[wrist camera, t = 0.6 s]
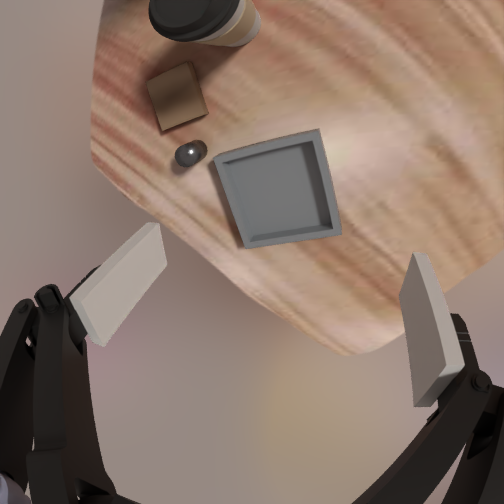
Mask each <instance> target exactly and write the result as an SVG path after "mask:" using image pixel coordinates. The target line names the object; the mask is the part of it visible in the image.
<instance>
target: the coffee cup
mask: <svg viewBox="0 0 504 504" xmlns="http://www.w3.org/2000/svg"><path fill="white" fill-rule="evenodd" d="M149 19H150V22H151V24H152V26H153V28H154V29H155V30H156V31H157V32H158V33H159V34H160V35H162V36H164V37H166V38H169V39H171V40H175V41H180V42H193V43H201V44H209V45H215V46H229V47H237V46H241V45H244V44H246V43H248V42H250V41H251V40H252V39H253V38H254V37H255V36H256V35H257V33H258V31H259V29H260V25H261V19H260V15H259V13H258V12H257V10H256V9H255V6H254V4H253V2H252V1H251V0H150V2H149Z"/></svg>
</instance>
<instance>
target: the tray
mask: <svg viewBox="0 0 504 504" xmlns="http://www.w3.org/2000/svg"><path fill="white" fill-rule="evenodd" d="M213 160H214V162H215V165H216V168H217V171H218V174H219V176H220V179H221V182H222V185H223V188H224V191H225V193H226V196H227V199H228V202H229V205H230V207H231V210H232V213H233V216H234V218H235V221H236V224H237V227H238V230H239V232H240V235H241V238H242V241H243V244H244V246H245V249H249V248H256V247H262V246H269V245H276V244H283V243H289V242H296V241H303V240H310V239H316V238H323V237H330V236H337V235H342V226H341V221H340V216H339V211H338V206H337V201H336V196H335V192H334V187H333V182H332V178H331V174H330V169H329V165H328V161H327V157H326V153H325V149H324V145H323V141H322V137H321V133H320V130H319V129H315V130H310V131H305V132H301V133H296V134H292V135H288V136H283V137H279V138H275V139H271V140H267V141H263V142H259V143H256V144H252V145H248V146H244V147H241V148H237V149H234V150H230V151H227V152H224V153H220V154H218V155H217V156H215V157H213Z"/></svg>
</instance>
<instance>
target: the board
mask: <svg viewBox="0 0 504 504" xmlns="http://www.w3.org/2000/svg"><path fill="white" fill-rule="evenodd" d="M146 85H147V88H148V91H149V94H150V97H151V100H152V103H153V106H154V109H155V112H156V115H157V118H158V120H159V123H160V126H161V129H162V131H164V130H167V129H169V128H172V127H174V126H177V125H179V124H182V123H184V122H187V121H189V120H192V119H195V118H197V117H200V116H203V115H206V114H208V113H209V112H208V109H207V106H206V103H205V100H204V97H203V94H202V91H201V88H200V85H199V82H198V80H197V77H196V74H195V71H194V68H193V65H192V63H191V62H185V63H183V64H181V65H179V66H177V67H175V68H173V69H170V70H168V71H166V72H164V73H162V74H160V75H158V76H156V77H154V78H153V79H151V80H149V81H147V82H146Z"/></svg>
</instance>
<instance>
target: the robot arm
mask: <svg viewBox="0 0 504 504" xmlns="http://www.w3.org/2000/svg"><path fill="white" fill-rule="evenodd" d="M166 266H167V261H166V256H165V251H164V247H163V242H162V237H161V232H160V227H159V223H150V222H147V223H146V224H145V225H144V226H143V227H142V228H140V229H139V230H138V231H137V232H136V233H135V234H134V235H133V236H132V237H131V238H129V239H128V240H127V241H126V242H125V243H124V244H123V245H122V246H121V247H120V248H119V249H118V250H117V251H115V252H114V253H113V255H111V256H110V257H109V258H108V259H107V260H106V261H105V262H104V263H103V264H102V265H100V266H98V267H96V268H94V269H93V270H92V271H90V272H89V273H88V275H86V278H83V279H82V280H81V283H78V284H77V285H76V286H75V287H74V289H73V290H72V291H71V292H70V293H69V294H68V295H67V296H66V297H65V298H64V299H63V297H62V295H61V293H60V291H59V289H58V287H57V286H56V285H54V284H49V285H46V286H43V287H42V288H41V289H39V290H38V291H37V292H36V293H35V296H34V298H35V300H36V302H37V304H38V306H39V307H36V306H35V304H34V302H33V301H32V300H31V299H23V300H21V301H20V302H19V303H18V304H16V306H15V307H14V309H13V311H12V313H11V315H10V317H9V319H8V321H7V323H6V325H5V327H4V330H3V332H2V334H1V336H0V504H31V500H32V504H140V503H137V502H135V501H132V500H130V499H127V498H125V497H123V496H120V495H118V494H117V493H116V489H115V487H114V484H113V482H112V480H111V479H110V478H109V476H108V475H107V473H106V471H105V469H104V465H103V461H102V456H101V452H100V447H99V442H98V438H97V432H96V427H95V421H94V415H93V408H92V400H91V393H90V383H89V373H88V360H87V344H86V340H85V339H84V338H85V336H86V335H87V334H88V335H89V337H90V339H91V340H92V342H93V343H96V344H98V345H101V346H103V347H104V346H105V345H106V344H107V342H108V341H109V340H110V338H111V337H112V336H113V334H114V333H115V331H116V330H117V329H118V327H119V326H120V325H121V323H122V322H123V321H124V320H125V318H126V317H127V316H128V314H129V313H130V312H131V310H132V309H133V308H134V306H135V305H136V304H137V302H138V301H139V300H140V299H141V297H142V296H143V295H144V294H145V292H146V291H147V290H148V288H149V287H150V286H151V284H152V283H153V282H154V281H155V280H156V278H157V277H158V276H159V275H160V273H161V272H162V271H163V270H164V268H165V267H166ZM399 300H400V305H401V310H402V315H403V321H404V327H405V333H406V339H407V346H408V353H409V361H410V369H411V377H412V378H411V379H412V389H413V402H414V407H431V406H432V405H433V403H434V402H435V401H436V400H438V409H437V410H436V411H435V412H434V413H433V414H432V415H431V416H430V417H429V418H428V419H427V423H426V424H425V426H424V427H423V428H422V429H421V431H420V432H419V433H418V435H417V436H416V437H415V438H414V440H413V441H412V442H411V443H410V444H409V446H408V447H407V448H406V449H405V450H404V452H403V453H402V454H401V455H400V456H399V457H398V458H397V459H396V461H395V462H394V463H393V464H392V465H391V466H390V467H389V468H388V469H387V470H386V471H385V472H384V474H383V475H382V476H380V477H379V479H377V481H376V482H374V483H373V484H372V485H371V486H370V487H369V488H368V489H367V490H366V491H365V492H364V493H363V494H362V495H361V496H360V497H358V498H357V499H356V500H355V501H354V502H353V503H352V504H423V503H424V502H425V501H426V499H427V498H428V497H429V495H430V494H431V493H432V492H433V491H434V489H435V488H436V486H437V485H438V484H439V483H440V481H441V480H442V479H443V477H444V476H445V474H446V473H447V472H448V470H449V469H450V467H451V466H452V464H453V463H454V461H455V460H456V458H457V457H458V455H459V453H460V452H461V450H462V448H463V447H464V445H465V444H466V446H465V448H464V452H463V455H462V457H461V460H460V462H459V465H458V468H457V470H456V473H455V475H454V477H453V480H452V482H451V484H450V487H449V489H448V491H447V493H446V495H445V497H444V499H443V502H442V503H441V504H504V388H502V387H499V386H496V385H493V384H492V381H491V379H490V377H489V376H488V375H487V374H486V373H485V372H483V371H481V370H480V369H479V366H478V362H477V359H476V355H475V352H474V349H473V345H472V342H471V339H470V336H469V334H468V330H467V327H466V324H465V322H464V321H463V319H462V318H461V317H460V316H459V314H452V313H451V314H450V313H449V309H448V307H447V304H446V301H445V298H444V295H443V292H442V290H441V287H440V285H439V282H438V279H437V277H436V274H435V272H434V269H433V267H432V265H431V262H430V260H429V258H428V255H427V254H426V253H419V252H413V254H412V257H411V260H410V264H409V267H408V270H407V273H406V276H405V279H404V282H403V285H402V288H401V291H400V293H399ZM27 337H28V338H29V340H30V341H31V344H30V346H28V345H27V343H26V339H27ZM33 439H34V450H33V451H32V445H33ZM466 442H467V443H466ZM28 482H29V489H30V495H31V500H30V498H29V497H28V496H27V495H25V491H26V488H27V483H28ZM77 496H78V497H79V498H80V500H78V498H77Z"/></svg>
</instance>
